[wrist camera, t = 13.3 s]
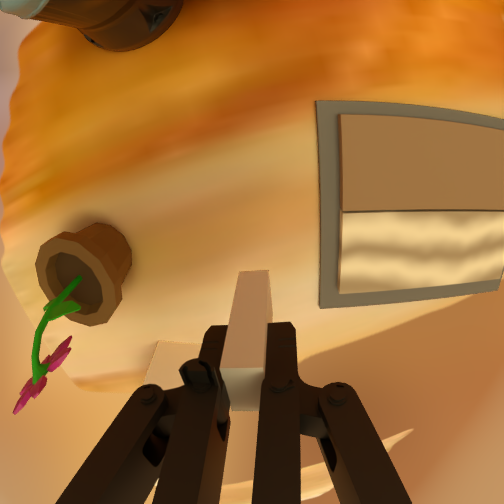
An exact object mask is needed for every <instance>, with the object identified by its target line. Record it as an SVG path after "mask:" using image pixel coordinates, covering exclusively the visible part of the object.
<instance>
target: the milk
mask: <svg viewBox="0 0 504 504" xmlns="http://www.w3.org/2000/svg"><path fill="white" fill-rule="evenodd" d="M201 345H202V344H195V343H182V342H171V341H160V340H159V341H158V344H157V347H156V349H155V352H154V355H153V357H152V360H151V363H150V366H149V369H148V371H147V374H146V377H145V380H144V383H143V385H146V384H156V385H158V386H160V387H161V388H162V389H163V390H168V389H173V388H177V387H180V386H182V385H184V383H183V380H182V378H181V375H180V373H179V369H180V367H181V365H182V364H184V363H185V362H186V361H188V360H191V359H194V358H198V356H199V353H200V350H201ZM158 479H159V478H158ZM157 483H158V480H157V482H156V483H155V486H157Z"/></svg>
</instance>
